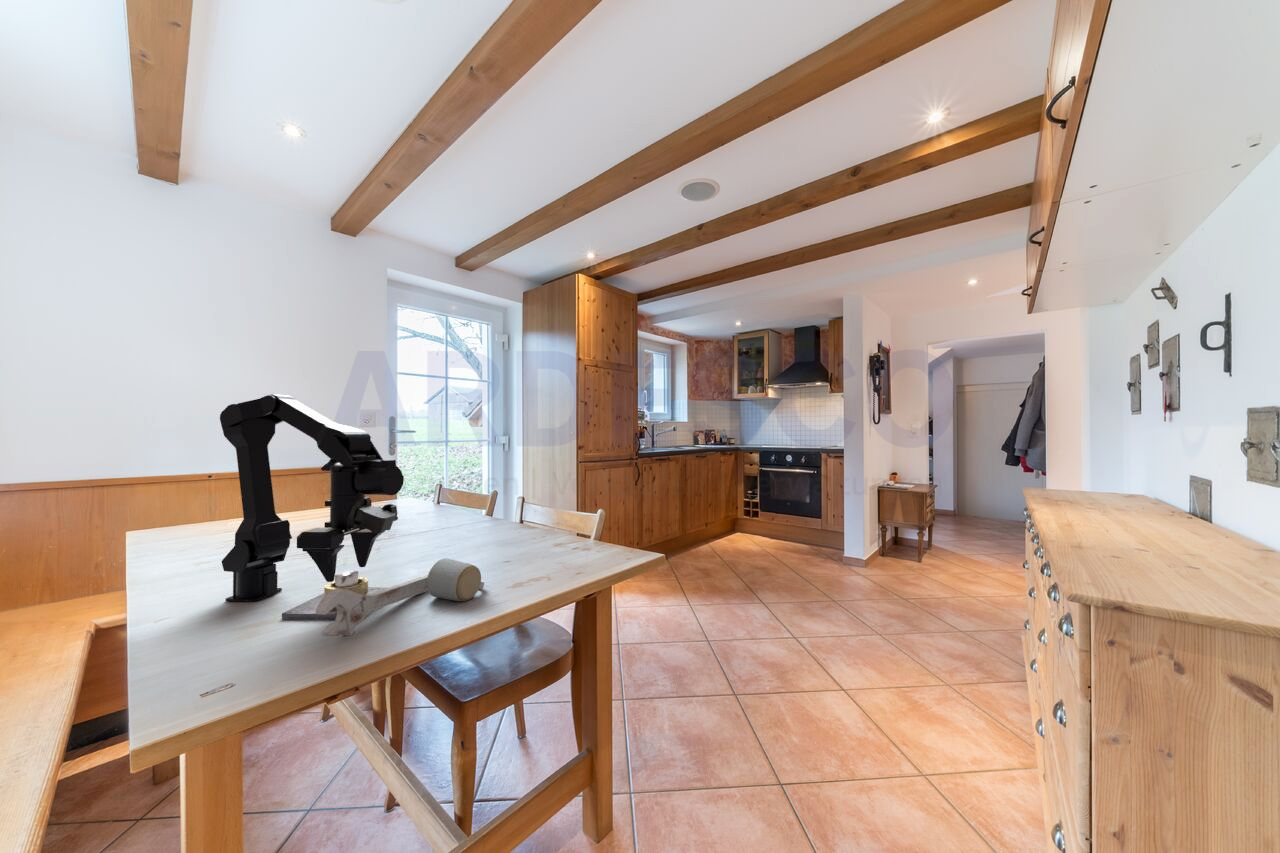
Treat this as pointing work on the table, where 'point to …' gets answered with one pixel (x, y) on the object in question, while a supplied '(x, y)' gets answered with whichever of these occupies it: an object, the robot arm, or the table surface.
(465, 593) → the ceramic mug
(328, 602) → the wrench
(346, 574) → the piston stand
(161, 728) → the table surface
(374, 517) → the robot arm
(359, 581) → the ring
